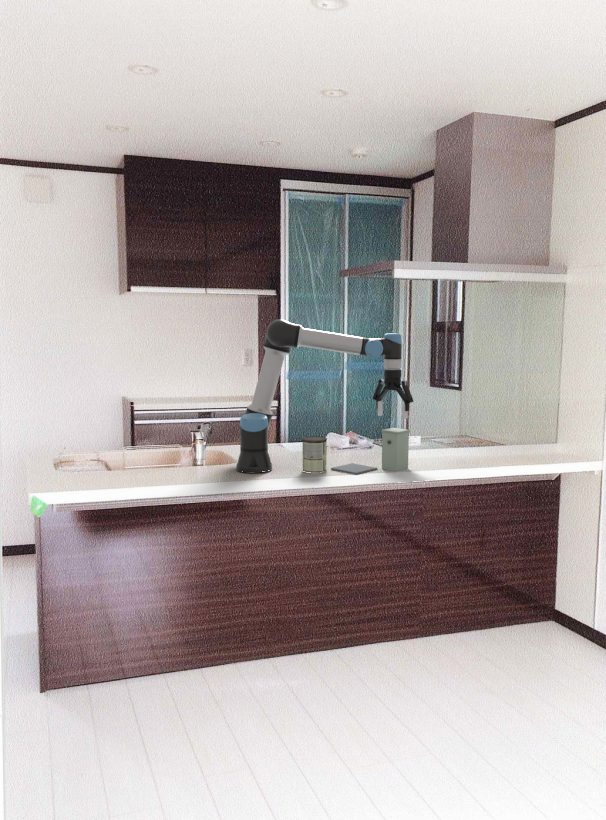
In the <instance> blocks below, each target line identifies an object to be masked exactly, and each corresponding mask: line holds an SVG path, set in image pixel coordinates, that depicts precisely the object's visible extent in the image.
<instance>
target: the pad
mask: <svg viewBox="0 0 606 820" xmlns="http://www.w3.org/2000/svg"><path fill="white" fill-rule="evenodd" d="M331 469H332V470H331ZM330 470H331V471H335V470H336V471H335V472H340V471H341V473H345V472H346V474H351V475H360V474H365V473H370V472H373V471H377V470H378V467H376V466H369V465H363V464H359V463H347V464H343V465H338V466H333V467H331V468H330Z"/></svg>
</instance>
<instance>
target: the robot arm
mask: <svg viewBox="0 0 606 820" xmlns="http://www.w3.org/2000/svg"><path fill="white" fill-rule="evenodd" d="M402 345H403V343H402V335H401V334H400V333H395V332H394V333H384V336H383V337H380V338H379V337H378V338H374V337H373V338H371V337H369V338H368V337H362V336H357V335H356V336H355V335H349V334H343V333H337V332H330V331H325V330H324V331H323V330H317V329H313V328H312V329H311V328H307V327H306V328H304V327H303V326H302V324H297V323H296V324H295V323H292V322H289V320H286V319H281V318H279V319H274V320H273V321H271V322H270V324H269V325H268V327H267V329H266V335H265V339H264V343H263V346H262V347H263V349H264V350H265V352H264V356H263V360H262V364H261V368H260V371H259V374H258V378H257V382H256V386H255V390H254V394H253V397H252V401H251V404H250V405H247V407H246V409H245V410H246V411H245V414H243V415H241V416H240V418H239V419H240V421H239V426H240V428H239V440H240V441H239V443H240V444H239V445H240V446H239V447H240V449H239V450H240V451H239V456H238V459H237V463H236V471H237V470H238V471H237V472H239V471H243V472H262V471H268V470H271V469H272V470H273V464H272V462H271V458H270V454H269V441H268V440H269V431H270V425H271V422H272V418H273V415H274V412H273V411H272V410H271V409H272V405H273V402H274V397H275V393H276V389H277V386H278V383H279V379H280V375H281V371H282V368H283V364H284V360H285V357H286V356H287V355H290V351H291V348H294V349H298V348H300V347H302V348H303V347H305V348H310V349H318V350H323V351H330V352H337V353H344V354H351V355H356V356H362V357H368V358H371V359H376V358H378V357H380V356H383V358H384V359H383V368H384V370H383V374H384V375H383V378H384V379H383V378H379V379H378V382H377V383H378V384H377V385H376V389H375V391H374V393H373V396H372V400H374V401H376V405H375V406H376V409H377V416H378V417H382V416H383V415H384V413H383V412H384V411H383V410H384V408H383V406H384V401H383V398H384V397H385V396H386V394H387V393H388V392H389V391H395V392H396V393H397V394H398V395H399V397H400V398H401V400H402V401H403V404H402V419H403V420H405V419H406V420H407V419H409V411H410V404H411V403H413V402H414V398H413V396H412V394H411V393H412V392H411V391H410V388H409V385H408V380H402V379H401V378H402V369H401V368H402V355H403V354H402V353H403V352H402V351H403V350H402V347H403V346H402ZM272 470H271V471H272ZM243 472H242V473H243Z"/></svg>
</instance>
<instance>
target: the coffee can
mask: <svg viewBox="0 0 606 820" xmlns="http://www.w3.org/2000/svg"><path fill="white" fill-rule="evenodd" d="M301 440H302V472H303V471H305V472H311V473H319V474H321V473H320V472H325V473H327V462H328V461H327V453H328V452H327V443H328V442H327V440H328V438H327V437H325V436H318V435H317V436H316V435H315V436H314V435H313V436H304V437H302V439H301Z"/></svg>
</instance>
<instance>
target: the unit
mask: <svg viewBox="0 0 606 820" xmlns="http://www.w3.org/2000/svg"><path fill="white" fill-rule="evenodd" d="M380 432H381V433H382V434H381V435H382V436H381V437H382V439H381V469H383V470H387V471H392V472H400V471H405V470H408V469H409V442H410V440H409V439H410V437H409V436H410V435H409V434H410V433H411V430H410V429H406V428H400V427H399V428H398V427H391V428H384V429H381V431H380Z"/></svg>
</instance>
